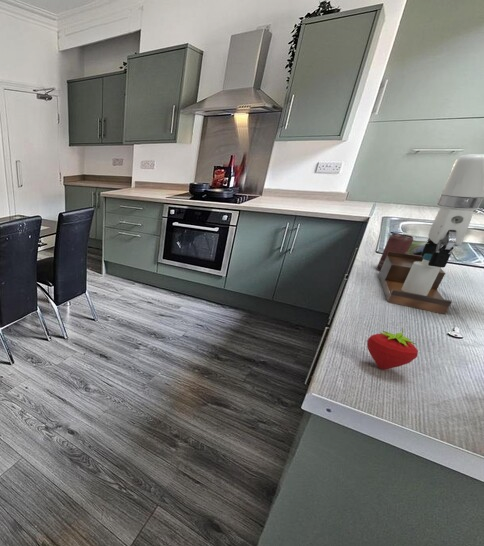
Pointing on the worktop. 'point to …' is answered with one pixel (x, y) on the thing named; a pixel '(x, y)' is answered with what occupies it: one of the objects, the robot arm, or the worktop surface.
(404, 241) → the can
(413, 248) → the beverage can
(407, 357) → the strawberry
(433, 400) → the worktop surface
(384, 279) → the rack
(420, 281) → the bottle
